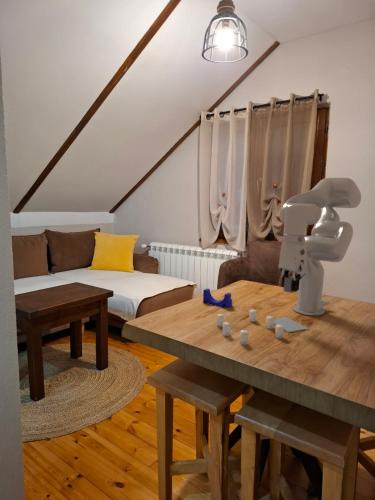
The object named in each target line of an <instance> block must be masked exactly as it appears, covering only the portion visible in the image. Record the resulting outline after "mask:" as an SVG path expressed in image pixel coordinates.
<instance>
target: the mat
mask: <svg viewBox="0 0 375 500" xmlns="http://www.w3.org/2000/svg"><path fill="white" fill-rule="evenodd" d="M276 325H283V326H284V330H283V332H284V331H285V332H286V333H288V334H289V333H294V332H300V331H308V330H309V327H306V326H305V325H303V324H300V323H299V322H297V321H295V320H293V319H292V318H289V317H279V318H274V326H276Z"/></svg>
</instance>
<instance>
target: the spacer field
mask: <svg viewBox="0 0 375 500" xmlns="http://www.w3.org/2000/svg"><path fill="white" fill-rule="evenodd" d="M257 312H258V311H257V310H255V309H250V310H249V316H248V317H249V318H248V321H249V322H250V323H256V322H257V314H258V313H257ZM274 319H275V317H274V316H271V315H268V316H266V319H265V320H266V321H265V323H266V324H265V328H266V330H267V329H268V330H273V329H274V326H275V331H274V332H275V334H274V337H275V338H276V339H278V340H282V339H283V338H284V326H283V325H274ZM216 326H217V327H218V328H219V327H220V328H222V336H224V337H230V336H231V322H228V321H225V314H223V313H218V314H217V315H216ZM239 332H240V333H239V344H240V345H241V346H247V345H248V343H249V331H248V330H246V329H241V330H240V331H239Z"/></svg>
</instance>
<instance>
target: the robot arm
mask: <svg viewBox="0 0 375 500" xmlns="http://www.w3.org/2000/svg"><path fill="white" fill-rule="evenodd" d="M361 193H362V192H361V191H360V188H359V187H358V185H357V184H356V182H355V181H354V180H353V179H351V178H349V177H325V178H322V179H321V180H319V182H317V183H316V185H314V187H312V189H311V190H307V191H304V192H302V193H299V194H296V195H294V196H291V197H290V198H288V199H287V200H286V202H285V203H283V205H282V207H281V209H280V219H281V220H282V221H283V225H284V226H283V234H282V235H283V236H282V237H283V238H282V242H281V246H280V247H281V248H280V252H279V261H278V262H279V263H278V265H277V267H278V269H279V271H280V274H281V275H280V276H281V287H282V288H283V286H284V276H290V274H291V272H292V276H293V280H292V281H291V291H297V301H296V304H294V305H293V306H292V310H293V311H294V312H296V313H298V314H301V315H304V316H305V315H306V316H316V317H317V316H322V315H324V314H325V311H326V310H325V309H324V307H325V306H330V304H331V303H330V300H323V299H322V298H323V289H324V277H325V269H324V266H323V265H322V263H321V261H322V262H331V263H339V262H341V261H342V260H343V259H344V257H345V256H346V254H347V252H348V249H349V247H350V244H351V242H352V239H353V234H354V230H353V229H354V228H353V226H352V224H351V223H349V222H347V221H342V220H341V221H340V219H341V218H340V215H339V213H338V212H337V211H336V210H335V209H334V208H336V209H337V208H339V209H340V208H342V209H355V208H358V206H359V205H360V204H361V201H362V194H361ZM307 225H309V226H310V225H312V226H313V227H312V229H311V233H310V234H311V235H306V234H307V233H306V230H307Z"/></svg>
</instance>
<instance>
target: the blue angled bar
mask: <svg viewBox="0 0 375 500" xmlns="http://www.w3.org/2000/svg"><path fill="white" fill-rule="evenodd" d="M202 292H203V293H202V298H203V299H202V304H206V303H207V305H211V304H212V305H211V306H215V305H216V306H217V307H219V306H220V308H225V309H229V308H231V307H233V298H232V292H227V293H225V294H224V297H223V299H219V300H217V299H215V298H214V297H213V295H212V294H211V289H210V288H204V289H203V291H202ZM216 306H215V307H216Z"/></svg>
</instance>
